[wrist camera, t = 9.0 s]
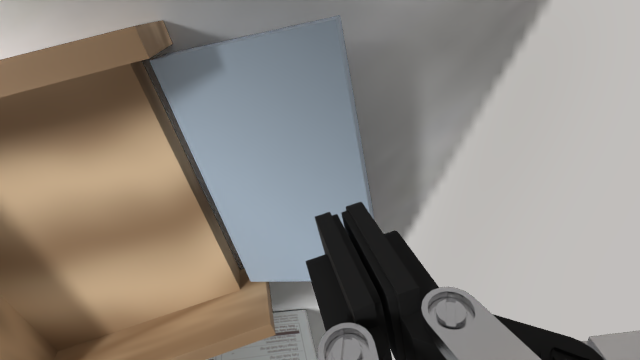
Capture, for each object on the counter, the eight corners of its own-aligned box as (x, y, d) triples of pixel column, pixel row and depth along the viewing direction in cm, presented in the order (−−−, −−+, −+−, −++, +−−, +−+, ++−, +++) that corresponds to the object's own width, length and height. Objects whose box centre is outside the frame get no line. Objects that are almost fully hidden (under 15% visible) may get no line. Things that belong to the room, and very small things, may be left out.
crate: (-171, 104, 14) (-359, 150, 9) (163, 20, 15) (134, 26, 10) (64, 340, 21) (21, 425, 17) (267, 272, 23) (275, 334, 18)
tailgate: (149, 60, 14) (335, 19, 12) (170, 52, 15) (341, 13, 13) (250, 281, 21) (381, 280, 18) (259, 262, 22) (382, 259, 20)
